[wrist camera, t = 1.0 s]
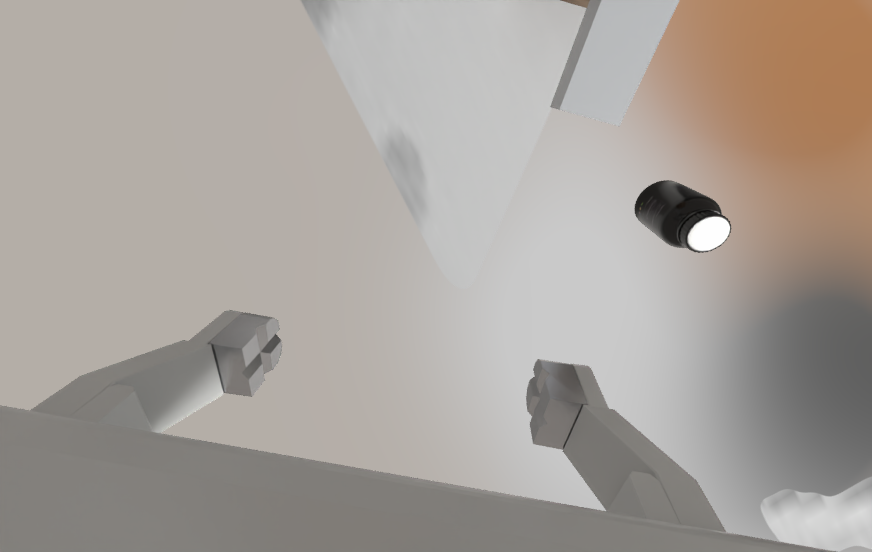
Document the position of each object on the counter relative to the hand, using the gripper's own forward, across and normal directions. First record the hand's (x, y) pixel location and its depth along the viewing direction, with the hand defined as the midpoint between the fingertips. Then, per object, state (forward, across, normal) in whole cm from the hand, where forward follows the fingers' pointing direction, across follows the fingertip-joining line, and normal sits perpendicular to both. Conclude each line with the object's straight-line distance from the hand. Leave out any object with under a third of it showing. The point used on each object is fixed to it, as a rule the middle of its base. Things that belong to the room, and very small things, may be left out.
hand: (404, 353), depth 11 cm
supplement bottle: (+44, -29, +3) cm, 53 cm away
